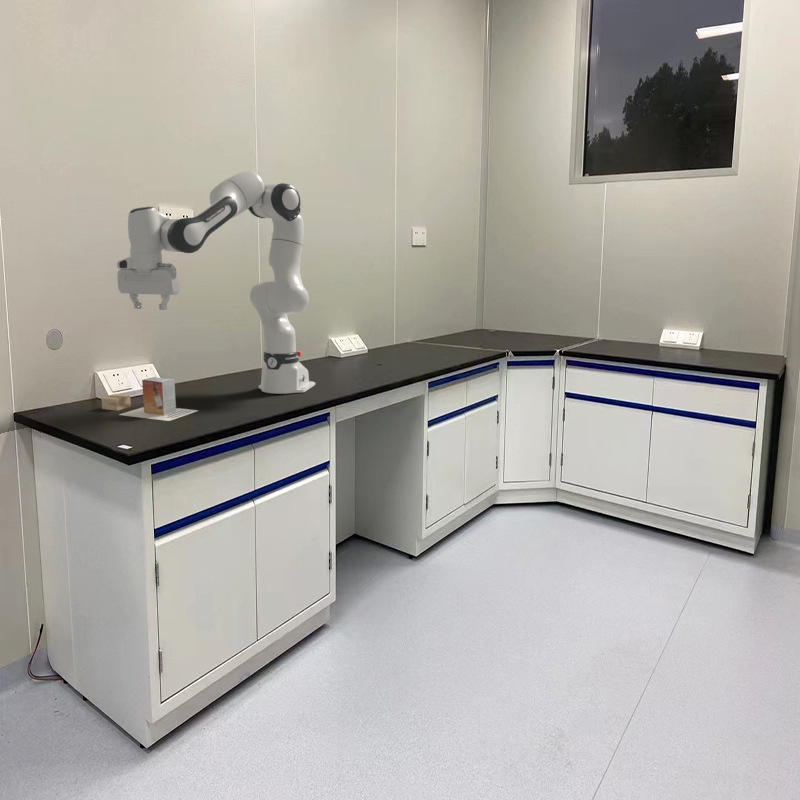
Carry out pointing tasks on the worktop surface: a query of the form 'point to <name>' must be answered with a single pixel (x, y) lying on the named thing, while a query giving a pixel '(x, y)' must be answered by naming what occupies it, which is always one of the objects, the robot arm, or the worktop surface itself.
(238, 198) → the robot arm
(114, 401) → the beech block
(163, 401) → the small box
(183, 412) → the letter
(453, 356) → the worktop surface
